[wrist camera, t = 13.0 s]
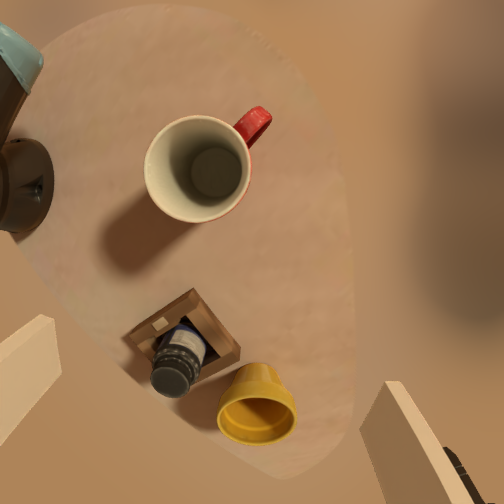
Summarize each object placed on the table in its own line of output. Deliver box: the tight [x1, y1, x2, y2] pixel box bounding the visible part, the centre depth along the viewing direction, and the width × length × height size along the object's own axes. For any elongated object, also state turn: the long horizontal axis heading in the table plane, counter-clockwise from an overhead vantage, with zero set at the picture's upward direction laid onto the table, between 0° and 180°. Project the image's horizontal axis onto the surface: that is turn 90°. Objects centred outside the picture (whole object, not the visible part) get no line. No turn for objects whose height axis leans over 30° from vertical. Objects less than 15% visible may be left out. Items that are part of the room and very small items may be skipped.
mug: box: [143, 106, 272, 223], centre depth 29 cm, size 13×9×14 cm
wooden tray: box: [129, 288, 241, 385], centre depth 39 cm, size 11×11×4 cm
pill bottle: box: [150, 321, 208, 398], centre depth 36 cm, size 6×6×11 cm
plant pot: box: [216, 363, 297, 446], centre depth 38 cm, size 10×10×10 cm
